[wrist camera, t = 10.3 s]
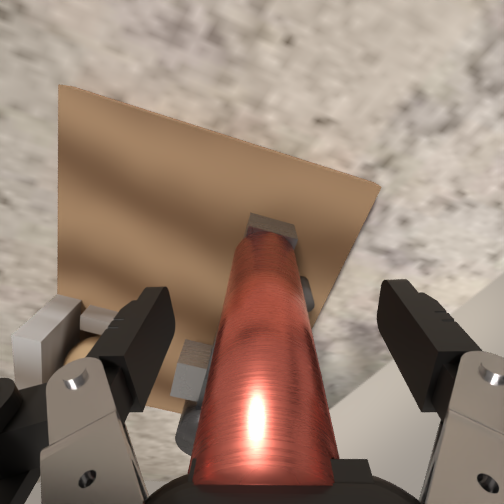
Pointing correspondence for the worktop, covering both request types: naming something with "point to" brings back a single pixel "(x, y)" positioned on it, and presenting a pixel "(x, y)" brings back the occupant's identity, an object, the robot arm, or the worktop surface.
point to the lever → (257, 376)
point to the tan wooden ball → (81, 349)
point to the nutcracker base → (172, 227)
